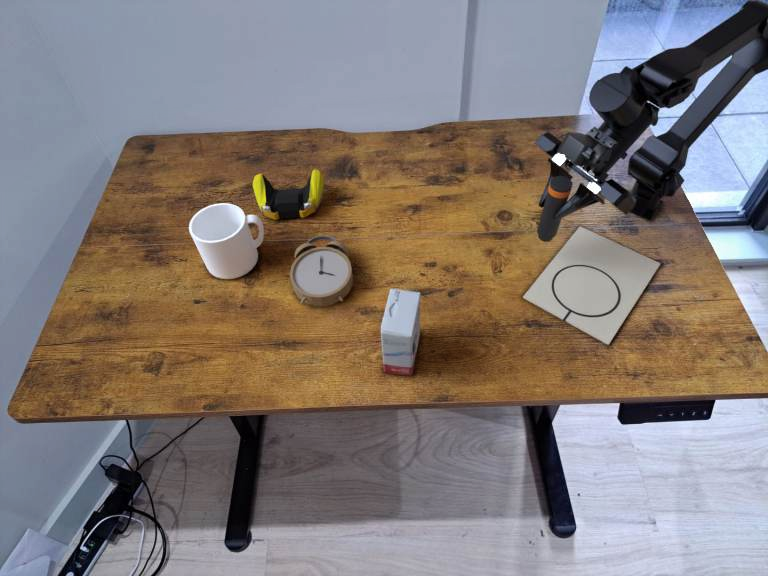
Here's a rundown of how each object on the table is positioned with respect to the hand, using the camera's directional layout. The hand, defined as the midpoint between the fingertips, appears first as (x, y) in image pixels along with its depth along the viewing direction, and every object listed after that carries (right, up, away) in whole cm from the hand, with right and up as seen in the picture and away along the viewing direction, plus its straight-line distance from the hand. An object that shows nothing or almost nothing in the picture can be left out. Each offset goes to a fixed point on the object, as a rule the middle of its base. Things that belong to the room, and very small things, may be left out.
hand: (547, 212), depth 86 cm
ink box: (-25, -24, -1) cm, 34 cm away
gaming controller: (-47, +5, +22) cm, 53 cm away
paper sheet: (+10, -11, +6) cm, 17 cm away
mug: (-56, -7, +13) cm, 58 cm away
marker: (+1, -3, +6) cm, 7 cm away
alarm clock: (-39, -10, +10) cm, 42 cm away
